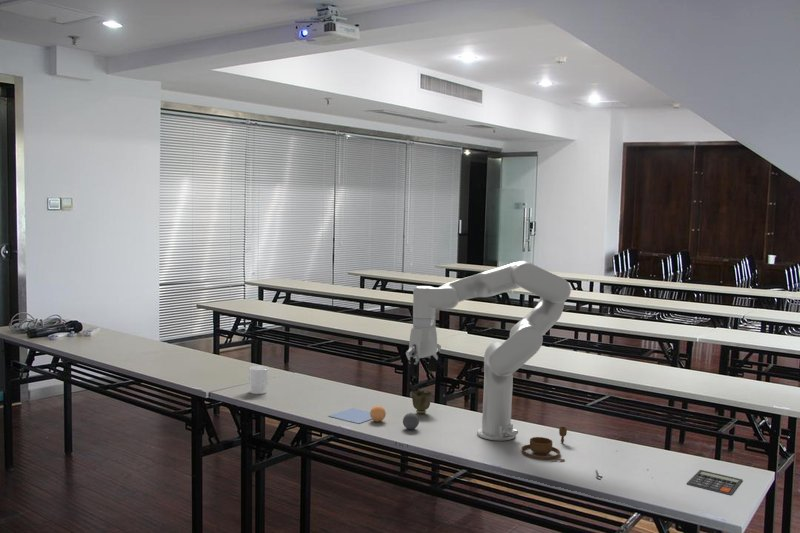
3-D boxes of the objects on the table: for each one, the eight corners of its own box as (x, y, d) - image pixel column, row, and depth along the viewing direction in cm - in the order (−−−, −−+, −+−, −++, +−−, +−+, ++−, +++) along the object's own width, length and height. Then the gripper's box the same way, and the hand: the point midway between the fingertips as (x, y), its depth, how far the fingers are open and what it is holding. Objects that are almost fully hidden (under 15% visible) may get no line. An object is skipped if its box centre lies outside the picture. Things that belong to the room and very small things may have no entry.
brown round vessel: (407, 414, 256) (408, 392, 255) (416, 409, 262) (417, 388, 262) (425, 417, 252) (426, 395, 252) (434, 412, 259) (435, 391, 258)
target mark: (382, 415, 252) (382, 415, 252) (358, 423, 241) (358, 423, 241) (352, 408, 260) (352, 408, 260) (328, 416, 249) (328, 415, 249)
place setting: (509, 447, 223) (510, 429, 223) (562, 443, 230) (563, 425, 230) (538, 466, 207) (539, 447, 206) (594, 460, 214) (595, 442, 213)
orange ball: (388, 421, 245) (389, 406, 244) (376, 424, 241) (376, 408, 241) (379, 418, 249) (379, 403, 249) (366, 420, 245) (367, 405, 245)
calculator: (686, 482, 194) (700, 469, 206) (686, 486, 194) (699, 472, 206) (731, 493, 187) (742, 478, 199) (731, 497, 187) (742, 482, 199)
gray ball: (421, 429, 237) (422, 414, 236) (409, 432, 233) (410, 416, 233) (411, 425, 241) (412, 410, 241) (399, 428, 237) (399, 412, 237)
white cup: (246, 390, 282) (247, 366, 281) (265, 389, 285) (266, 365, 285) (251, 395, 275) (251, 370, 274) (270, 393, 278) (271, 369, 277)
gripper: (431, 319, 240) (430, 368, 241) (398, 324, 227) (398, 375, 228) (448, 321, 235) (448, 371, 236) (416, 326, 222) (415, 379, 223)
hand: (423, 373), depth 232 cm, fingers open, 9 cm apart
